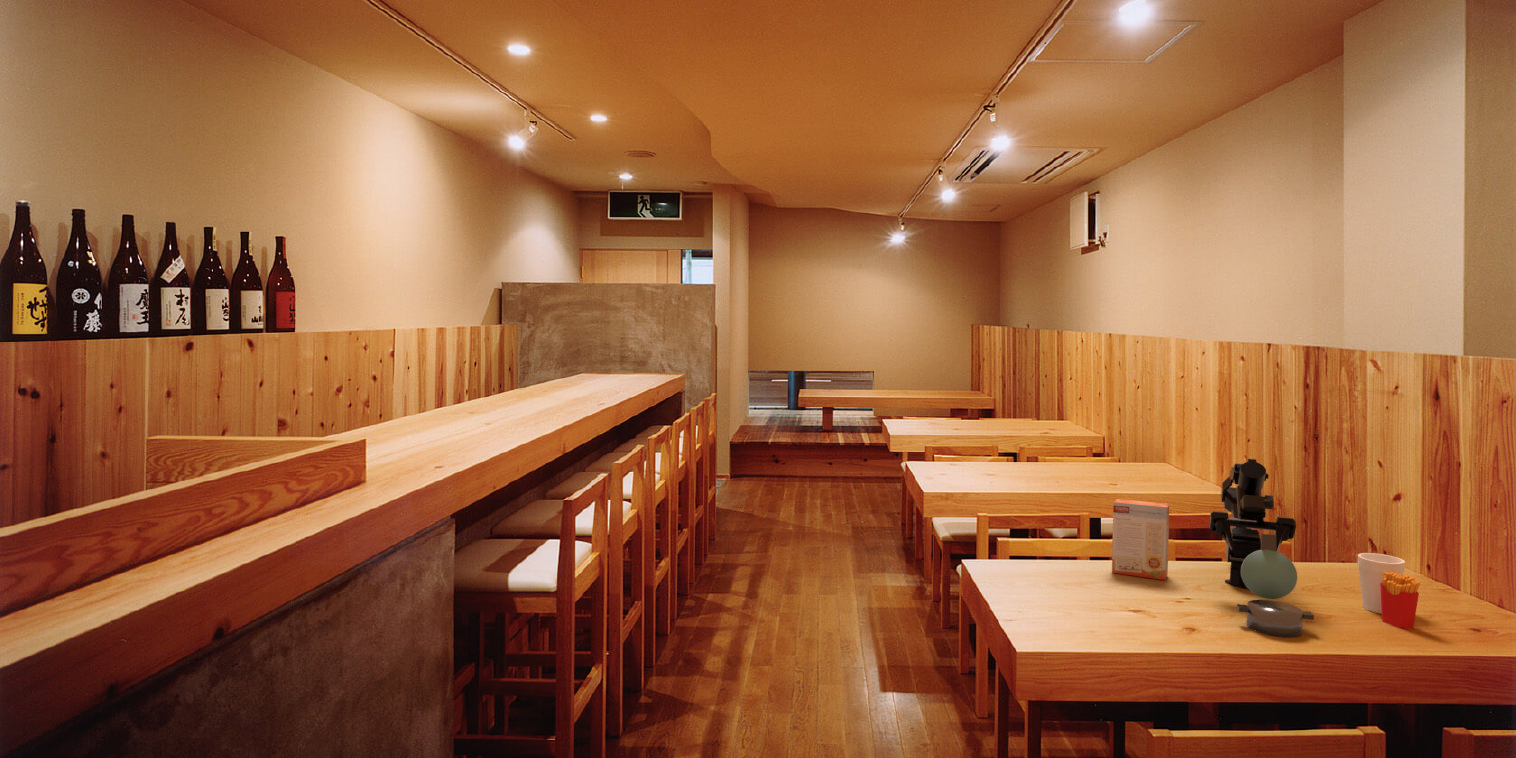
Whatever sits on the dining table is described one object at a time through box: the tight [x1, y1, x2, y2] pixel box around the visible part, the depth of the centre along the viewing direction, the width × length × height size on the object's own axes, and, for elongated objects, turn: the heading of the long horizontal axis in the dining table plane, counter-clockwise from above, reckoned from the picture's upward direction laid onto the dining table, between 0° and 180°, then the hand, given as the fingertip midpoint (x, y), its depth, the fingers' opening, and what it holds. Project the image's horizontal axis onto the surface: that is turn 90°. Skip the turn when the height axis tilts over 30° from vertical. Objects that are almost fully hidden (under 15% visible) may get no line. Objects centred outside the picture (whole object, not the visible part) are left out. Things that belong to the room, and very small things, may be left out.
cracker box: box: [1111, 498, 1170, 581], centre depth 230 cm, size 14×6×21 cm, turn 58°
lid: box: [1241, 533, 1298, 600], centre depth 196 cm, size 15×12×1 cm
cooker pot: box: [1236, 599, 1315, 638], centre depth 190 cm, size 12×15×5 cm
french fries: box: [1380, 572, 1421, 630], centre depth 192 cm, size 8×4×12 cm, turn 9°
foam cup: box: [1357, 552, 1406, 614], centre depth 202 cm, size 10×9×13 cm
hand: (1253, 551), depth 204 cm, fingers open, 9 cm apart
